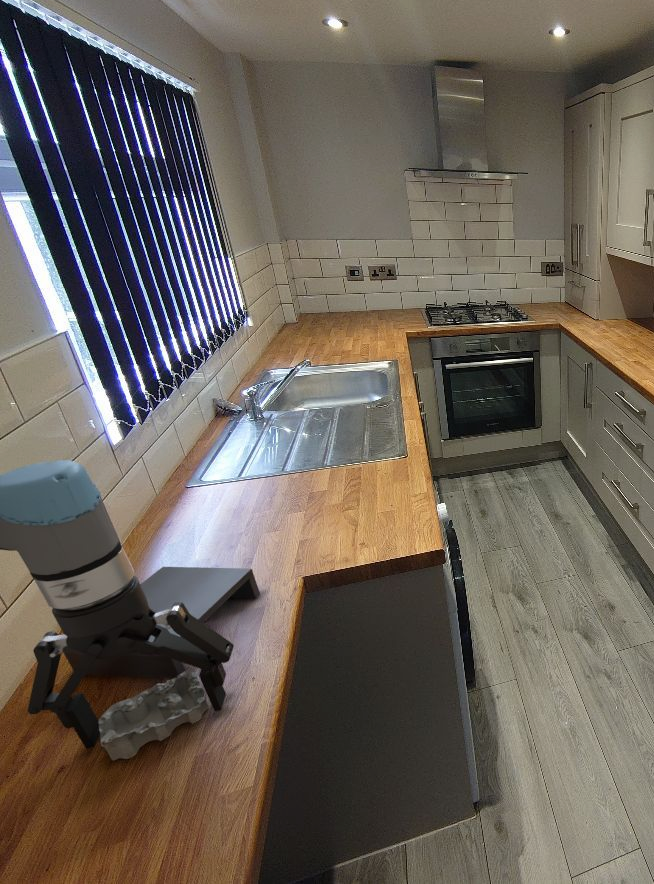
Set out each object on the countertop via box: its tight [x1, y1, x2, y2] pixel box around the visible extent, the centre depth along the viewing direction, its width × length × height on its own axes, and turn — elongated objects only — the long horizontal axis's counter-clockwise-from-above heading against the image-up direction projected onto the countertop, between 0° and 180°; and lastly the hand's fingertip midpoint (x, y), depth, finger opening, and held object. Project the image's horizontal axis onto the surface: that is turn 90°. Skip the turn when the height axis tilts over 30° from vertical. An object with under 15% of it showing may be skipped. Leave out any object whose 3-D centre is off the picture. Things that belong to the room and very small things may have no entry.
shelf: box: [62, 566, 261, 679], centre depth 83 cm, size 16×18×6 cm
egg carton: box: [98, 666, 210, 761], centre depth 68 cm, size 11×8×4 cm
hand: (159, 720), depth 69 cm, fingers open, 13 cm apart
